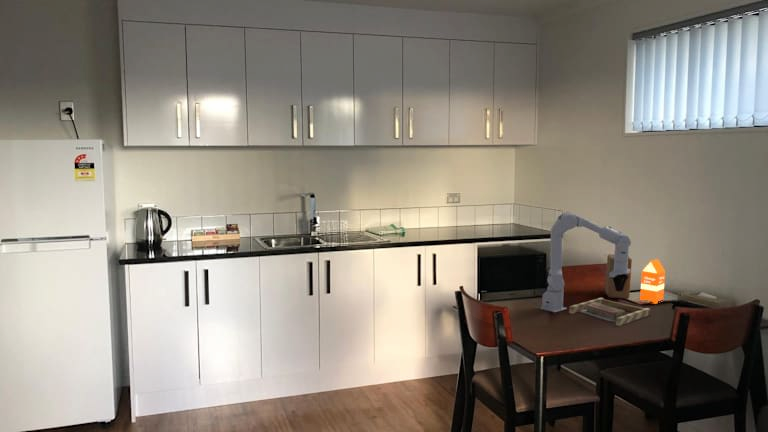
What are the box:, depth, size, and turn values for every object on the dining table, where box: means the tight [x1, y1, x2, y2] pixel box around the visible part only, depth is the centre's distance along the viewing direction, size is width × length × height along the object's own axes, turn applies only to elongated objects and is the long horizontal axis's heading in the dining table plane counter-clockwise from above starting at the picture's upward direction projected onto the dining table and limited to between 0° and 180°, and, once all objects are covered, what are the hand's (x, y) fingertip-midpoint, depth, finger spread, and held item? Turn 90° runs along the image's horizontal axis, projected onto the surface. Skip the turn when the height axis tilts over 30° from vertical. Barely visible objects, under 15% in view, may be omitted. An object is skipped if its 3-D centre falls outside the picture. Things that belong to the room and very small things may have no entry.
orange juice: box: [639, 258, 666, 305], centre depth 299 cm, size 8×9×20 cm
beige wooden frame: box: [568, 297, 651, 327], centre depth 276 cm, size 26×24×3 cm
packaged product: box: [580, 302, 626, 323], centre depth 273 cm, size 18×5×10 cm
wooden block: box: [605, 254, 633, 299], centre depth 307 cm, size 10×10×20 cm
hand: (619, 290), depth 279 cm, fingers closed
